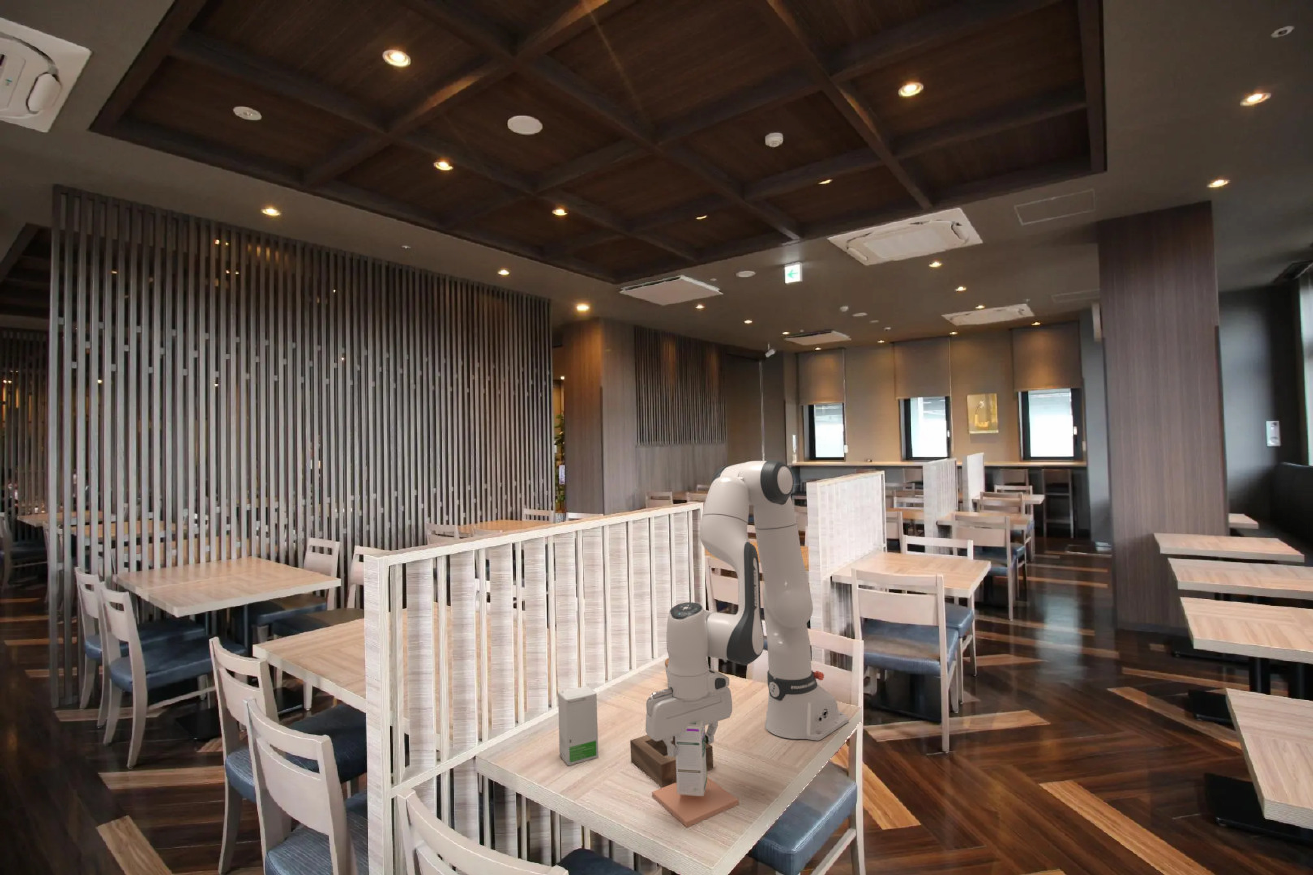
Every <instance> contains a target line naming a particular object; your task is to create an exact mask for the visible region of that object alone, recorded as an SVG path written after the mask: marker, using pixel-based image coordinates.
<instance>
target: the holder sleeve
mask: <svg viewBox="0 0 1313 875" xmlns="http://www.w3.org/2000/svg"><path fill="white" fill-rule="evenodd" d="M629 743H630V744H629V746H630V762H631V763H632V764H633V765H635V766H636V767H637V768H638V769H639V770H641V771H642V773H644V774H645V775H646V776H647V777H649V778H650V779H651V780H652V781H653V780H654V781H653V782H654V783H656V784H657V785H658V784H659V785H658V786H659V787H660V788H663V787H666V786H668V785H671V784H673V783H676V782H677V780H676V756H674V757H670V756H669V755H668V753H667V746H666V744H665V743H664V741H663V740H660V741H654V740H653V739H652V738H650V737H649V736H648V735H647V734H646V735H642V736H640V737H636V738H634V739H630V742H629ZM671 743H672V744H674V745H675V736H673V741H671ZM706 766H707V771H710V770H712V769H714V752H713V745H711V744H707V743H706Z"/></svg>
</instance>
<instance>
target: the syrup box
mask: <svg viewBox="0 0 1313 875" xmlns="http://www.w3.org/2000/svg"><path fill="white" fill-rule="evenodd" d="M705 726H706V725H705ZM705 726H703V723H702V721H700V722H695V723H691V724H688V726H687V731H686V732H684V733H681V734H678V735H675V746H676V747H678V751H677V752H678V755H677V756H676V780H677V793H678V794H682V795H690V796H704V792H705V789H706V784H707V777H708V774H707V773H708V770H707V766H706V742H705V733H706V727H705Z"/></svg>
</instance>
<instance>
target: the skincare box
mask: <svg viewBox="0 0 1313 875" xmlns="http://www.w3.org/2000/svg"><path fill="white" fill-rule="evenodd" d="M557 699H558V700H557V701H558V702H557V703H558V707H557V708H558V740H559V741H558V742H559V744H558V746H559V756H560V757H561V758H562V760H563V762H564V763H565V764H566V765H567V766H571V765H572V766H573V765H575V764H579V763H582V762H586V761H590V760H594V759H598V758H599V732H598V731H599V730H598V704H597V703H598V701H597V692H595V691H594V689H592V688H591V687H590V686H588V685H586V686H581V687H573V688H570V689H564V690H559V691H558V692H557Z"/></svg>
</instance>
